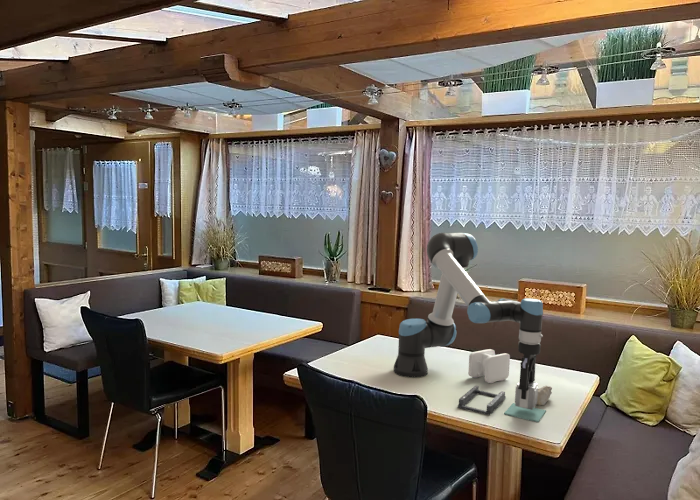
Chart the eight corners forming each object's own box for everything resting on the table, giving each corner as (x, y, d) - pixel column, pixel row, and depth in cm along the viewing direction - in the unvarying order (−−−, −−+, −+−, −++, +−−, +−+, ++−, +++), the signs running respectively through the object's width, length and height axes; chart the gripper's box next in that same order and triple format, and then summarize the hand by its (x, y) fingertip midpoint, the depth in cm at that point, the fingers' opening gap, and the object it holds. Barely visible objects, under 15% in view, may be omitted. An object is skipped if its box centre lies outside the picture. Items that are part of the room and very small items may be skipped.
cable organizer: (485, 385, 221) (487, 358, 220) (466, 378, 230) (468, 351, 229) (509, 379, 230) (510, 353, 229) (490, 372, 238) (491, 347, 237)
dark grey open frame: (457, 407, 195) (457, 399, 195) (475, 392, 212) (475, 384, 212) (489, 415, 189) (490, 407, 189) (505, 398, 206) (505, 390, 206)
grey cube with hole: (514, 405, 191) (515, 383, 191) (518, 400, 196) (519, 379, 196) (533, 410, 188) (534, 387, 187) (537, 405, 193) (538, 383, 192)
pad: (504, 414, 190) (504, 412, 190) (512, 404, 201) (513, 402, 200) (538, 422, 184) (538, 420, 184) (545, 411, 194) (545, 410, 194)
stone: (523, 409, 206) (519, 389, 201) (538, 388, 212) (534, 369, 208) (542, 415, 200) (537, 396, 196) (556, 394, 207) (553, 375, 203)
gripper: (534, 349, 180) (530, 415, 182) (546, 338, 196) (542, 398, 198) (512, 345, 184) (508, 410, 186) (525, 335, 200) (521, 394, 202)
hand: (525, 404), depth 192 cm, fingers closed on grey cube with hole, 6 cm apart
